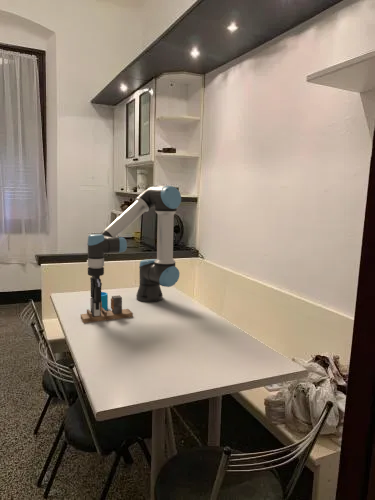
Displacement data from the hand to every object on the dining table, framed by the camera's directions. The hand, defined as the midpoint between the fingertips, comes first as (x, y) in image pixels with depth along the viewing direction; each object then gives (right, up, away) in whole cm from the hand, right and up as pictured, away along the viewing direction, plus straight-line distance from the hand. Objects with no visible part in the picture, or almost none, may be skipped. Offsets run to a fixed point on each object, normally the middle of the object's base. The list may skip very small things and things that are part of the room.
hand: (95, 314), depth 189 cm
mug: (-3, 0, +18) cm, 18 cm away
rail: (+5, -2, +3) cm, 6 cm away
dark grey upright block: (0, 0, 0) cm, 0 cm away
